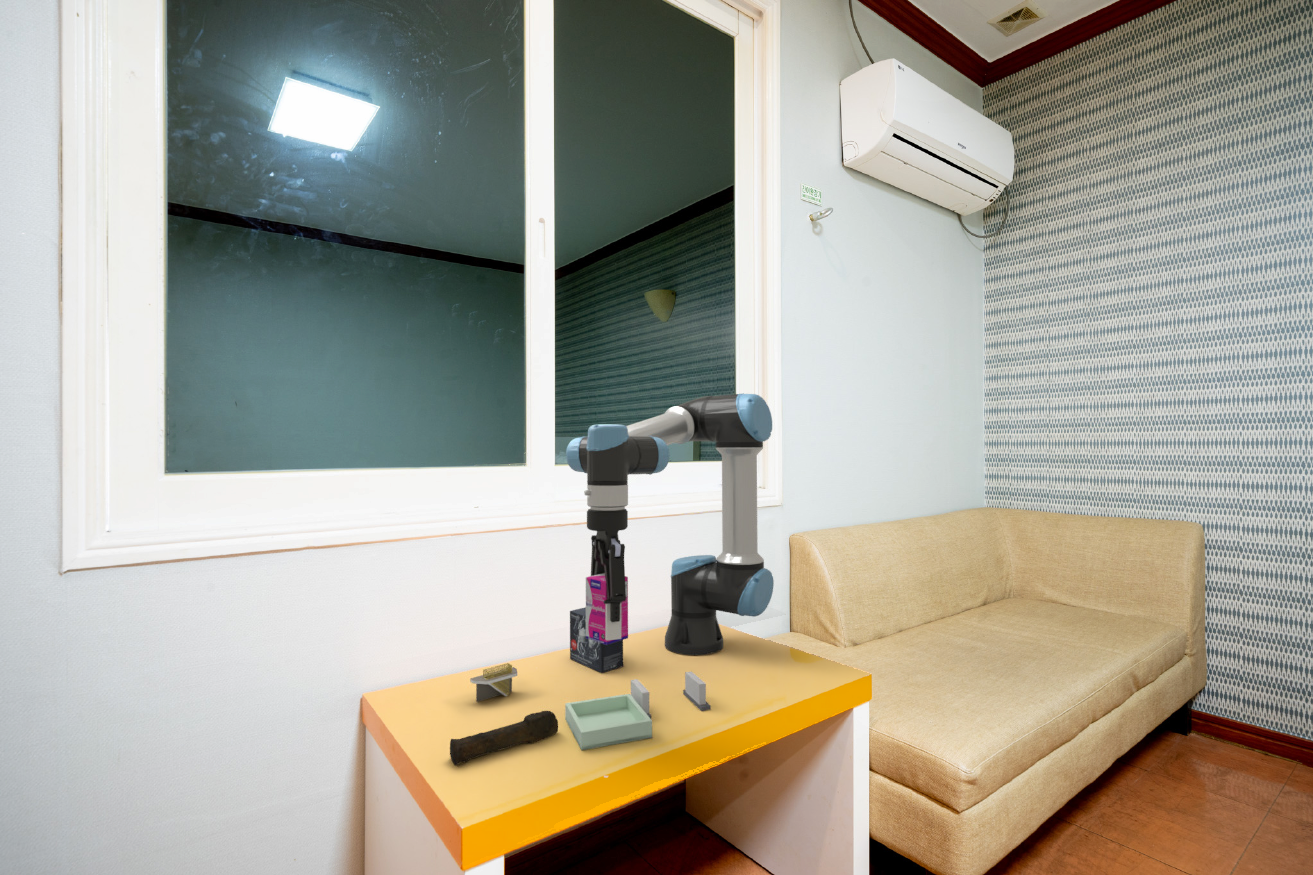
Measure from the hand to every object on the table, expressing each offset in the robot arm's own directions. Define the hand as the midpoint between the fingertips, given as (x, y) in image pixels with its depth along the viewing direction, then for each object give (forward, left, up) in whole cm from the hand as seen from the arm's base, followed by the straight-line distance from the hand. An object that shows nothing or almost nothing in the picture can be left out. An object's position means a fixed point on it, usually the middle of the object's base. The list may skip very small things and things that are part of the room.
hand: (606, 632), depth 112 cm
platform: (+17, -22, -18) cm, 33 cm away
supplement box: (0, 0, -1) cm, 1 cm away
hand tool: (+18, 0, -18) cm, 26 cm away
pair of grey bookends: (-14, -5, -17) cm, 23 cm away
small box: (-7, -34, -18) cm, 39 cm away
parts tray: (0, 0, -17) cm, 17 cm away
